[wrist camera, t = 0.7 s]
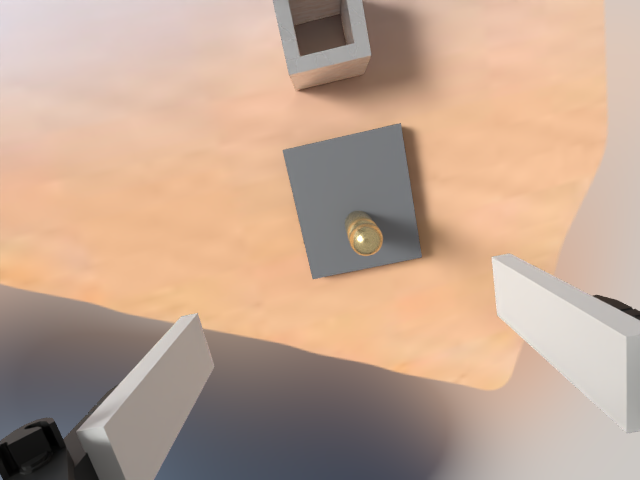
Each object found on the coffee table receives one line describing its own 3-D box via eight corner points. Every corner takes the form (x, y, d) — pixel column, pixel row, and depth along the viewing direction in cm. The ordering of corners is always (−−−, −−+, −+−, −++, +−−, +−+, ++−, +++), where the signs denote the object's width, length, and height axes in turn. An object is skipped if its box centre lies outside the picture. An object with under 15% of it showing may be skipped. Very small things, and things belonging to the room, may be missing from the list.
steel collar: (279, 15, 33) (268, -18, 27) (350, -4, 32) (355, -41, 26) (295, 90, 34) (289, 75, 28) (363, 74, 34) (371, 55, 28)
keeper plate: (284, 150, 36) (282, 150, 34) (397, 125, 35) (400, 123, 33) (313, 274, 38) (312, 279, 37) (418, 253, 38) (421, 257, 36)
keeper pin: (342, 213, 35) (347, 229, 27) (368, 208, 35) (382, 222, 26) (347, 239, 36) (354, 263, 27) (373, 233, 36) (388, 256, 27)
